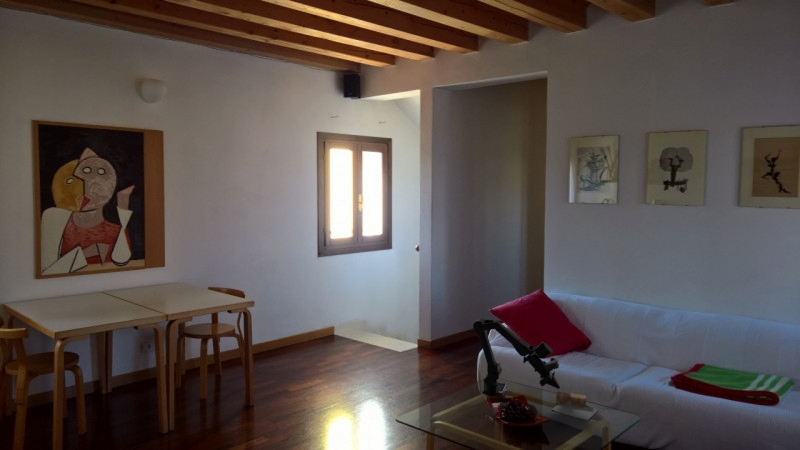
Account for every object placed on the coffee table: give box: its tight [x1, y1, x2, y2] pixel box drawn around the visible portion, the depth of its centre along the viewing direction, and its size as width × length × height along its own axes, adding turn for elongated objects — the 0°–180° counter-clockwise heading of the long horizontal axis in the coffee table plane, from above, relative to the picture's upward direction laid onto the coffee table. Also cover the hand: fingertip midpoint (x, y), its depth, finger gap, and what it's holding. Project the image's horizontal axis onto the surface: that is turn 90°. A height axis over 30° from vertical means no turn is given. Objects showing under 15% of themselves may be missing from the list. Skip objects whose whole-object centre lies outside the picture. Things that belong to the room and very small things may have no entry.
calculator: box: [490, 402, 501, 419], centre depth 284 cm, size 11×4×15 cm
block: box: [555, 391, 587, 408], centre depth 294 cm, size 4×4×14 cm
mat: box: [551, 404, 599, 422], centre depth 288 cm, size 18×14×1 cm
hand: (559, 388), depth 296 cm, fingers closed
